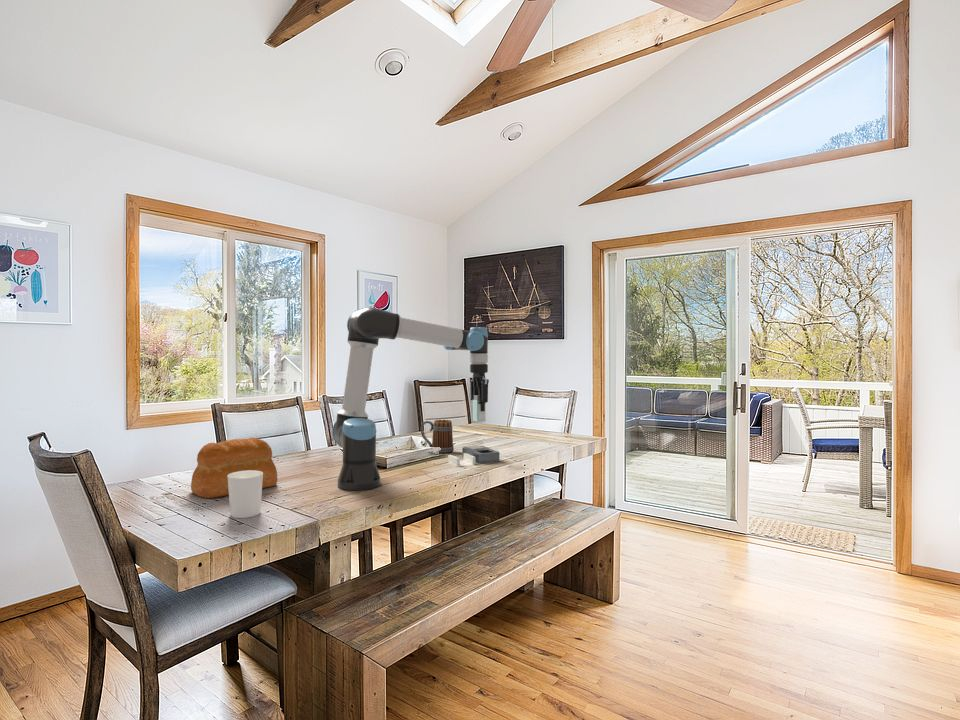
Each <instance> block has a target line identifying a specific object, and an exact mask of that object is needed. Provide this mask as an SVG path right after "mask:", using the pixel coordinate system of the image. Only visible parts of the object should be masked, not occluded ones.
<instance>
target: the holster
mask: <svg viewBox="0 0 960 720" xmlns="http://www.w3.org/2000/svg"><path fill="white" fill-rule="evenodd" d="M447 457H448V459H447V463H449V464H451V465H452V466H455V467H464V466H472V465H473V466H474V465H476V462H475V457H474V456H472V455H469V454H467V453H464V457H463V460H461V459H460V458H459V457H457V456H455V455H453V454H447Z"/></svg>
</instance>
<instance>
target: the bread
mask: <svg viewBox="0 0 960 720" xmlns="http://www.w3.org/2000/svg"><path fill="white" fill-rule="evenodd" d="M267 442H268V441H265V440H263V439H260V438H257V437H249V438H246V439H245V438H235V439H230V440H227V439H226V440H223V441H220V442H210V443H207V444H205V445H203V446H202V447H201V448H200V450H199V451H198V453H197V456H196V462H197V466H196V468H195V469H194V470H193V472H192V476H191V483H190V489H191V492H192V493H193V495H196V496H198V497H200V498H206V499H214V498H220V497H225V496H229V491H228V478H227V476H228V474H230V473H233V472H238V471H246V470H256V471H261V472H263V481H262V489H264V488H271V487H274V486H276V485H277V484H278V471H277V468H276V467H277V466H276V464H275V463H274V461H273V459H272V458H273V450H272V447H271V446H270V445H269V443H267Z"/></svg>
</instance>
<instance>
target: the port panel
mask: <svg viewBox="0 0 960 720" xmlns="http://www.w3.org/2000/svg"><path fill="white" fill-rule="evenodd" d="M461 451H462V453H461V456H462V458H464V453H467V454H469V455H472V456H474V457H475V464H478V465H480V464H488V463H489V464H490V463H499V462H500V452H499V450H496V449H495V450H494V449H493V448H489V447H487V446H484V445H475V446H474V445H472V446H464V447H462V450H461Z"/></svg>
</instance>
